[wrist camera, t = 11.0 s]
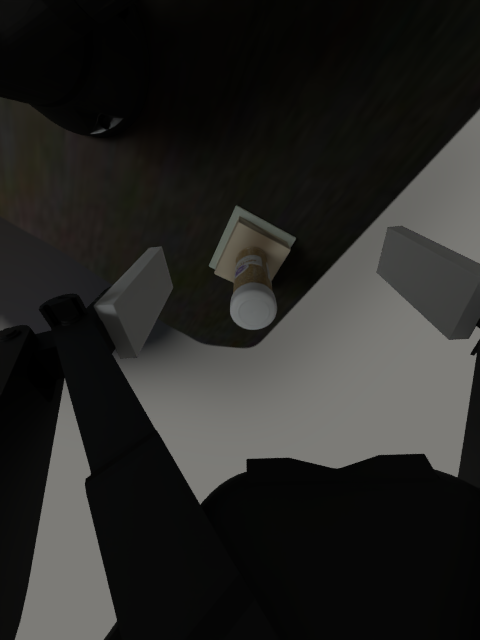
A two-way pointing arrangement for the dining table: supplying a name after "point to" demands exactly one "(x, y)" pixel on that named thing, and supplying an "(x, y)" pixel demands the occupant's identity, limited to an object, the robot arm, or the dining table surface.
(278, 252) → the beech block
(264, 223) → the plate
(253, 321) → the sprinkles bottle
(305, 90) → the dining table surface
